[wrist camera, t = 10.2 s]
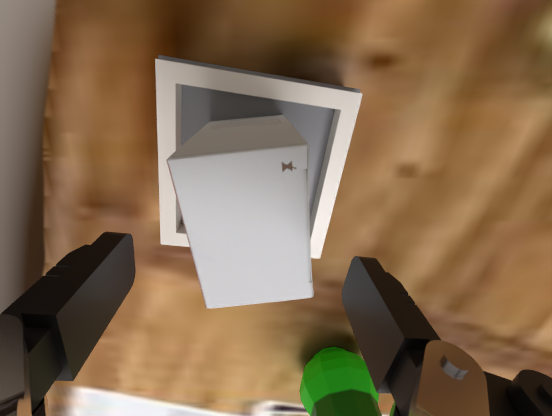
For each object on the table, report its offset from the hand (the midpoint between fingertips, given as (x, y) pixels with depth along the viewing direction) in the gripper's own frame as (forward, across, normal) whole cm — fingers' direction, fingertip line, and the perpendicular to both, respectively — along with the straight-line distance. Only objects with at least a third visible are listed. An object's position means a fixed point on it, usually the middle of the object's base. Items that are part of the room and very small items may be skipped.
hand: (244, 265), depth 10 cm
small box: (+13, 0, 0) cm, 13 cm away
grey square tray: (+16, 0, 0) cm, 16 cm away
